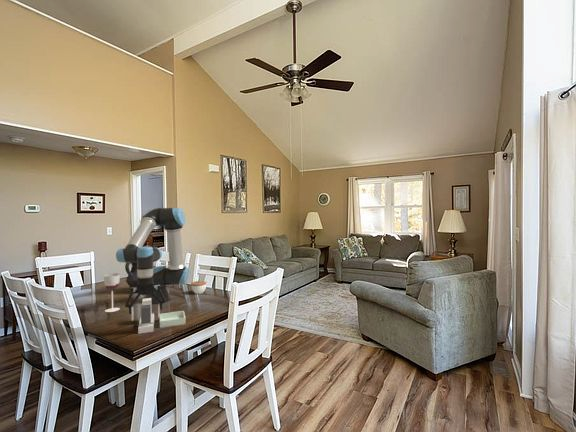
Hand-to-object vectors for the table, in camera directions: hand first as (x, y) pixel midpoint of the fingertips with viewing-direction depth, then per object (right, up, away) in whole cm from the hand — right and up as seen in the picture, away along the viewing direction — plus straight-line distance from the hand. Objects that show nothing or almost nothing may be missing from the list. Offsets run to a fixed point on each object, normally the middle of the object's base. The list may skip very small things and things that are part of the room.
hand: (146, 318), depth 157 cm
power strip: (-4, -6, +9) cm, 11 cm away
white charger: (-5, -3, +12) cm, 13 cm away
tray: (+9, -6, +11) cm, 16 cm away
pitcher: (-40, -5, +76) cm, 85 cm away
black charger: (0, -3, 0) cm, 3 cm away
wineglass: (-36, -6, +32) cm, 49 cm away
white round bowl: (+7, -5, +70) cm, 70 cm away
